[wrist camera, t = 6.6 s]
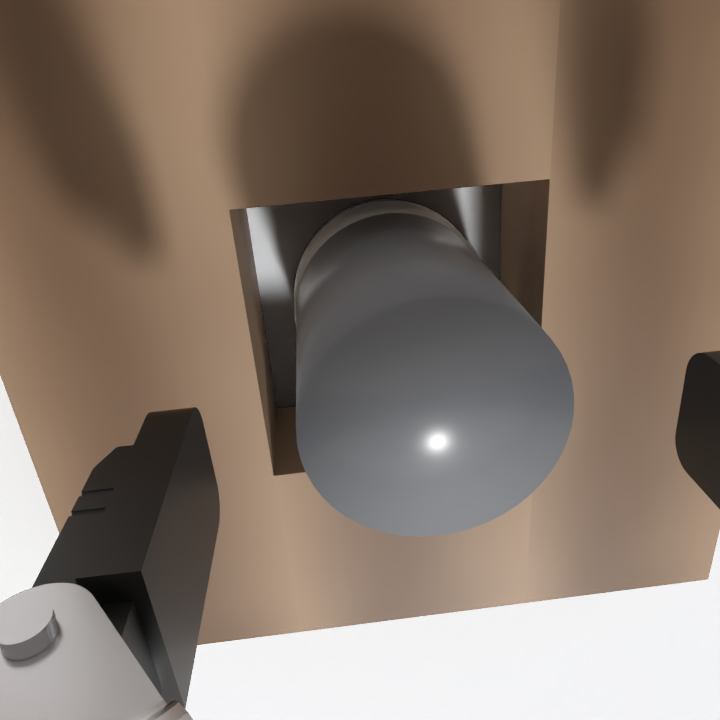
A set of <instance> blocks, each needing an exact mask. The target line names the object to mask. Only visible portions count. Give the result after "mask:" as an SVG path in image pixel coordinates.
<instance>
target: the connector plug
mask: <svg viewBox="0 0 720 720" xmlns="http://www.w3.org/2000/svg"><path fill="white" fill-rule="evenodd" d="M294 315H295V323H296V436H297V446H298V451H299V455H300V459H301V462H302V464H303V467H304V469H305V472H306V474H307V476H308V477H309V479H310V481H311V483H312V484H313V486H314V487H315V488H316V490H317V491H318V492H319V493H320V495H321V496H322V497H323V498H324V499H325V500H326V501H327V502H328V503H329V504H330V505H331V506H332V507H333V508H334V509H336V510H337V511H339V512H340V513H342V514H343V515H344V516H346V517H347V518H349V519H351V520H353V521H355V522H357V523H359V524H361V525H363V526H366V527H369V528H371V529H374V530H377V531H381V532H385V533H389V534H394V535H401V536H415V537H427V536H440V535H446V534H452V533H457V532H461V531H464V530H468V529H471V528H474V527H477V526H479V525H482V524H484V523H487V522H489V521H491V520H493V519H495V518H497V517H499V516H501V515H503V514H505V513H506V512H508V511H509V510H511V509H512V508H514V507H515V506H517V505H518V504H519V503H521V502H522V501H523V500H524V499H526V498H527V497H528V496H529V495H531V494H532V493H533V492H534V491H535V490H536V489H537V488H538V487H539V486H540V485H541V484H542V482H543V481H544V480H545V479H546V477H547V476H548V475H549V474H550V472H551V471H552V470H553V468H554V466H555V465H556V463H557V462H558V460H559V458H560V457H561V454H562V452H563V450H564V448H565V446H566V444H567V441H568V438H569V434H570V431H571V428H572V422H573V416H574V391H573V384H572V379H571V376H570V373H569V369H568V366H567V364H566V362H565V360H564V358H563V356H562V354H561V352H560V351H559V349H558V348H557V346H556V345H555V344H554V342H553V341H552V339H551V338H550V337H549V336H548V335H547V333H546V332H545V331H544V330H543V329H542V328H541V327H540V326H539V324H538V323H537V322H536V321H535V320H534V319H533V318H532V317H531V315H530V314H529V313H528V312H527V311H526V310H525V309H524V307H523V306H522V305H521V304H520V303H519V302H518V301H517V300H516V298H515V297H514V296H513V295H512V294H511V293H510V292H509V291H508V289H507V288H506V287H505V286H504V285H503V284H502V283H501V281H500V280H499V279H498V278H497V277H496V276H495V275H494V274H493V272H492V271H491V270H490V269H489V268H488V267H487V266H486V265H485V263H484V262H483V261H482V260H481V259H480V258H479V256H478V254H477V253H476V251H475V250H474V248H473V247H472V246H471V244H470V243H469V242H468V241H467V240H466V238H465V237H464V236H463V235H462V234H461V233H460V232H459V231H458V230H457V229H456V228H455V227H454V226H453V225H452V224H451V223H450V222H449V221H448V220H447V219H445V218H444V217H443V216H441V215H440V214H438V213H436V212H434V211H433V210H431V209H428V208H426V207H424V206H421V205H419V204H416V203H413V202H409V201H404V200H396V199H379V200H373V201H367V202H364V203H361V204H357V205H354V206H352V207H350V208H348V209H346V210H344V211H342V212H340V213H339V214H337V215H336V216H334V217H333V218H331V219H330V220H329V221H328V222H327V223H325V224H324V225H323V226H322V227H321V228H320V229H319V231H318V232H317V233H316V234H315V235H314V237H313V238H312V240H311V241H310V242H309V244H308V246H307V248H306V250H305V252H304V253H303V256H302V258H301V261H300V264H299V266H298V269H297V274H296V278H295V287H294Z"/></svg>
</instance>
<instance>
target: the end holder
mask: <svg viewBox="0 0 720 720" xmlns="http://www.w3.org/2000/svg"><path fill="white" fill-rule="evenodd" d="M493 184H502V215H501V255H500V281H501V283H502V284H503V285H504V286H505V287H506V288H507V289H508V291H509V292H510V293H511V294H512V295H513V296H514V297H515V298H516V300H517V301H518V302H519V303H520V304H521V305H522V306H523V307H524V309H525V310H526V311H527V312H528V313H529V314H530V315H531V317H532V318H533V319H534V320H535V321H536V322H537V323H538V324H539V326H540V327H541V328H542V329H543V330H544V331H545V332H546V333H547V335H548V336H549V337H550V338H551V339H552V341H553V342H554V344H555V345H556V346H557V348H558V349H559V351H560V352H561V354H562V356H563V358H564V360H565V362H566V364H567V366H568V369H569V373H570V376H571V379H572V384H573V391H574V416H573V422H572V428H571V431H570V434H569V438H568V441H567V444H566V446H565V448H564V450H563V452H562V454H561V457H560V458H559V460H558V462H557V463H556V465H555V466H554V468H553V470H552V471H551V472H550V474H549V475H548V476H547V477H546V479H545V480H544V481H543V482H542V484H541V485H540V486H539V487H538V488H537V489H536V490H535V491H534V492H533V493H532V494H531V495H529V496H528V497H527V498H526V499H524V500H523V501H522V502H521V503H519V504H518V505H517V506H515V507H514V508H512V509H511V510H509V511H508V512H506V513H505V514H503V515H501V516H499V517H497V518H495V519H493V520H491V521H489V522H487V523H484V524H482V525H479V526H477V527H474V528H471V529H468V530H464V531H461V532H457V533H452V534H446V535H440V536H427V537H415V536H401V535H394V534H389V533H385V532H381V531H377V530H374V529H371V528H369V527H366V526H363V525H361V524H359V523H357V522H355V521H353V520H351V519H349V518H347V517H346V516H344V515H343V514H342V513H340V512H339V511H337V510H336V509H334V508H333V507H332V506H331V505H330V504H329V503H328V502H327V501H326V500H325V499H324V498H323V497H322V496H321V495H320V493H319V492H318V491H317V490H316V488H315V487H314V486H313V484H312V483H311V481H310V479H309V477H308V476H307V474H306V472H305V469H304V467H303V464H302V462H301V459H300V455H299V451H298V446H297V436H296V407H287V408H278V409H277V404H276V397H275V391H274V385H273V378H272V372H271V365H270V359H269V352H268V346H267V340H266V333H265V327H264V320H263V314H262V307H261V301H260V295H259V288H258V282H257V275H256V269H255V263H254V256H253V250H252V243H251V237H250V230H249V224H248V218H247V211H246V208H253V207H263V206H274V205H284V204H295V203H305V202H316V201H326V200H336V199H347V198H357V197H368V196H378V195H389V194H399V193H409V192H420V191H430V190H441V189H451V188H462V187H472V186H482V185H493ZM711 351H720V0H0V375H1V378H2V381H3V383H4V386H5V389H6V391H7V394H8V397H9V399H10V402H11V405H12V407H13V410H14V413H15V416H16V418H17V421H18V424H19V426H20V429H21V432H22V434H23V437H24V440H25V442H26V445H27V448H28V450H29V453H30V456H31V458H32V461H33V464H34V467H35V469H36V472H37V475H38V477H39V480H40V483H41V485H42V488H43V491H44V493H45V496H46V499H47V501H48V504H49V507H50V509H51V512H52V515H53V517H54V520H55V523H56V526H57V528H58V531H59V534H60V532H61V530H62V528H63V526H64V524H65V522H66V520H67V519H68V517H69V516H71V515H72V513H71V511H72V509H73V507H74V505H75V503H76V501H77V499H78V497H79V496H82V492H81V491H82V489H83V487H84V485H85V483H86V481H87V479H88V478H89V476H90V474H91V472H92V470H93V468H94V467H95V466H96V465H97V464H98V463H100V462H101V461H102V460H103V459H104V458H105V457H106V456H107V455H108V454H110V453H111V452H112V451H113V450H114V449H115V448H116V447H120V446H129V445H134V443H135V440H136V438H137V436H138V433H139V431H140V429H141V427H142V424H143V422H144V420H145V418H146V416H147V414H148V413H149V412H156V411H165V410H174V409H183V408H192V407H196V408H198V410H199V411H200V414H201V416H202V420H203V424H204V428H205V433H206V437H207V441H208V446H209V450H210V455H211V459H212V463H213V468H214V472H215V476H216V481H217V485H218V491H219V501H220V521H219V528H218V533H217V539H216V544H215V550H214V555H213V560H212V566H211V571H210V577H209V582H208V588H207V593H206V598H205V604H204V609H203V615H202V620H201V625H200V631H199V636H198V642H197V645H201V644H208V643H216V642H224V641H232V640H240V639H247V638H255V637H263V636H271V635H278V634H286V633H294V632H302V631H309V630H317V629H325V628H333V627H341V626H348V625H356V624H364V623H372V622H379V621H387V620H395V619H403V618H411V617H418V616H426V615H434V614H442V613H449V612H457V611H465V610H473V609H481V608H488V607H496V606H504V605H512V604H519V603H527V602H535V601H543V600H550V599H558V598H566V597H574V596H582V595H589V594H597V593H605V592H613V591H620V590H628V589H636V588H644V587H652V586H659V585H667V584H675V583H683V582H690V581H698V580H706V579H708V577H709V573H710V568H711V564H712V560H713V555H714V551H715V547H716V542H717V538H718V534H719V529H720V509H719V508H718V507H717V506H716V505H715V504H714V503H713V501H712V500H711V499H710V498H709V497H708V496H707V495H706V494H705V493H704V491H703V490H702V489H701V488H700V487H699V486H698V485H697V484H696V483H695V481H694V480H693V479H692V478H691V477H690V476H689V475H688V474H687V473H686V471H685V470H684V468H683V467H682V465H681V463H680V460H679V458H678V455H677V451H676V444H675V434H676V427H677V421H678V415H679V409H680V403H681V397H682V391H683V385H684V379H685V373H686V368H687V364H688V362H689V360H690V358H691V357H692V356H693V355H695V354H696V353H702V352H711Z"/></svg>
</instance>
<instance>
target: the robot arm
mask: <svg viewBox="0 0 720 720" xmlns="http://www.w3.org/2000/svg"><path fill="white" fill-rule="evenodd" d="M675 444H676V451H677V455H678V458H679V460H680V463H681V465H682V467H683V468H684V470H685V471H686V473H687V474H688V475H689V476H690V477H691V478H692V479H693V480H694V481H695V483H696V484H697V485H698V486H699V487H700V488H701V489H702V490H703V491H704V493H705V494H706V495H707V496H708V497H709V498H710V499H711V500H712V501H713V503H714V504H715V505H716V506H717V507H718V508H719V509H720V351H711V352H702V353H696V354H695V355H693V356H692V357H691V358H690V360H689V362H688V364H687V368H686V373H685V379H684V385H683V391H682V397H681V403H680V409H679V415H678V421H677V427H676V434H675ZM81 492H82V496H79V497H78V499H77V501H76V503H75V505H74V507H73V509H72V511H71V513H72V515H71V516H69V517H68V519H67V520H66V522H65V524H64V526H63V528H62V530H61V532H60V534H59V536H58V538H57V540H56V542H55V544H54V546H53V548H52V550H51V552H50V554H49V556H48V558H47V560H46V562H45V563H44V565H43V567H42V569H41V571H40V573H39V575H38V577H37V579H36V581H35V583H34V585H33V587H32V588H30V589H28V590H25V591H22V592H20V593H18V594H16V595H14V596H12V597H10V598H8V599H6V600H5V601H3V602H1V603H0V720H193V719H192V718H191V716H190V715H189V713H188V712H187V711H186V710H185V707H186V701H187V696H188V690H189V685H190V680H191V674H192V669H193V663H194V658H195V652H196V647H197V642H198V636H199V631H200V625H201V620H202V615H203V609H204V604H205V598H206V593H207V588H208V582H209V577H210V571H211V566H212V560H213V555H214V550H215V544H216V539H217V533H218V528H219V521H220V501H219V491H218V485H217V481H216V476H215V472H214V468H213V463H212V459H211V455H210V450H209V446H208V441H207V437H206V433H205V428H204V424H203V420H202V416H201V414H200V411H199V410H198V408H196V407H192V408H183V409H174V410H165V411H156V412H149V413H148V414H147V416H146V418H145V420H144V422H143V424H142V427H141V429H140V431H139V433H138V436H137V438H136V440H135V443H134V445H129V446H120V447H116V448H115V449H114V450H113V451H112V452H111V453H110V454H108V455H107V456H106V457H105V458H104V459H103V460H102V461H101V462H100V463H98V464H97V465H96V466H95V467H94V468H93V470H92V472H91V474H90V476H89V478H88V479H87V481H86V483H85V485H84V487H83V489H82V491H81Z"/></svg>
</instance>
